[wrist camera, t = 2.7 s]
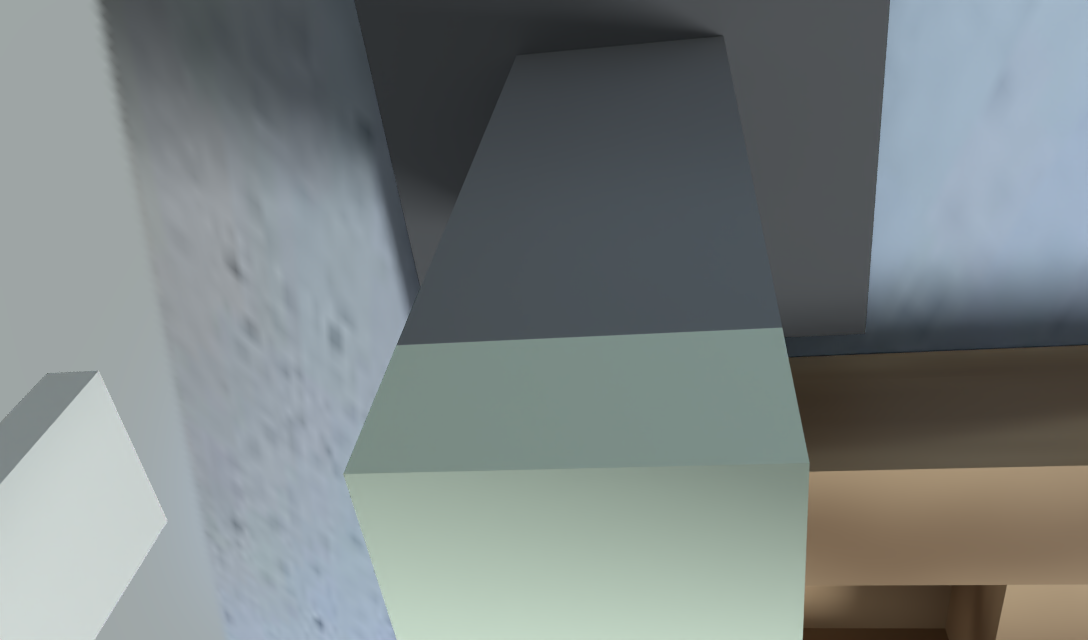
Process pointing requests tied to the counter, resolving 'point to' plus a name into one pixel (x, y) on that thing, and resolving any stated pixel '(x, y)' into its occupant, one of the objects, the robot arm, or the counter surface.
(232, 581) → the counter surface
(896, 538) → the socket block
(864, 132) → the mat
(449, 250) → the plug
